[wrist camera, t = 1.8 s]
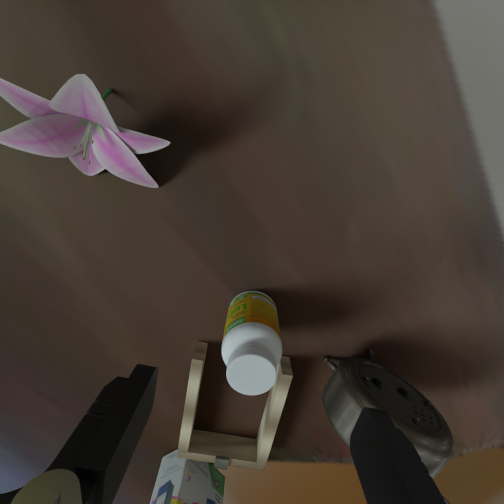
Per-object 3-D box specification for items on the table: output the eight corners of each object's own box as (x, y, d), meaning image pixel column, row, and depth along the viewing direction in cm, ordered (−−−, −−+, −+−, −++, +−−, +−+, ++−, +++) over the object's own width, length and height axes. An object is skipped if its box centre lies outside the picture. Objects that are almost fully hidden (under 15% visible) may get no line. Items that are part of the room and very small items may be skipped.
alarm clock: (308, 364, 32) (358, 546, 17) (331, 328, 31) (407, 494, 15) (386, 393, 34) (498, 588, 18) (411, 361, 32) (557, 544, 17)
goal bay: (197, 341, 31) (191, 361, 28) (289, 357, 32) (293, 378, 29) (182, 435, 36) (175, 461, 33) (263, 447, 37) (263, 475, 33)
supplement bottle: (243, 280, 29) (237, 335, 20) (285, 303, 30) (299, 365, 21) (220, 318, 31) (205, 385, 21) (261, 338, 31) (263, 412, 22)
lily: (31, 129, 26) (-36, 187, 19) (35, -21, 18) (-70, -9, 12) (157, 183, 31) (138, 244, 24) (199, 81, 23) (187, 129, 17)
